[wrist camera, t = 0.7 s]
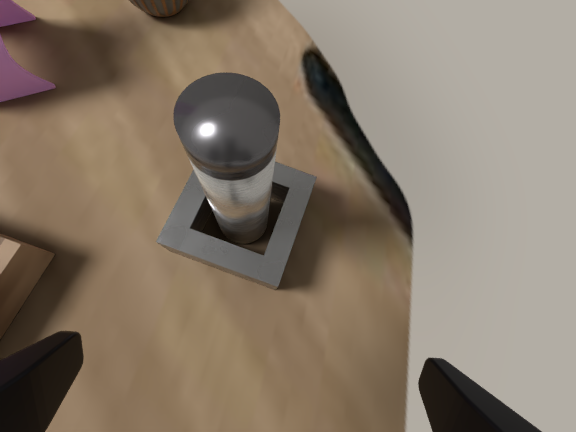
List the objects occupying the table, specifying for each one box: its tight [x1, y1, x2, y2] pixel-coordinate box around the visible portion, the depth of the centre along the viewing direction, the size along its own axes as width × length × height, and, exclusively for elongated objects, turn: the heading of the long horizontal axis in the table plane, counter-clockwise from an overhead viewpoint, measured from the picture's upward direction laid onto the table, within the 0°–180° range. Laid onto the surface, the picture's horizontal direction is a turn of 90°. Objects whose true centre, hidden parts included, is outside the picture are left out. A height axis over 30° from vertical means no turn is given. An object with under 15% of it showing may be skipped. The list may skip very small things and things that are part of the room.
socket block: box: [156, 162, 316, 290], centre depth 20 cm, size 8×8×3 cm
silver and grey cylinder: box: [174, 73, 280, 244], centre depth 16 cm, size 4×4×12 cm
